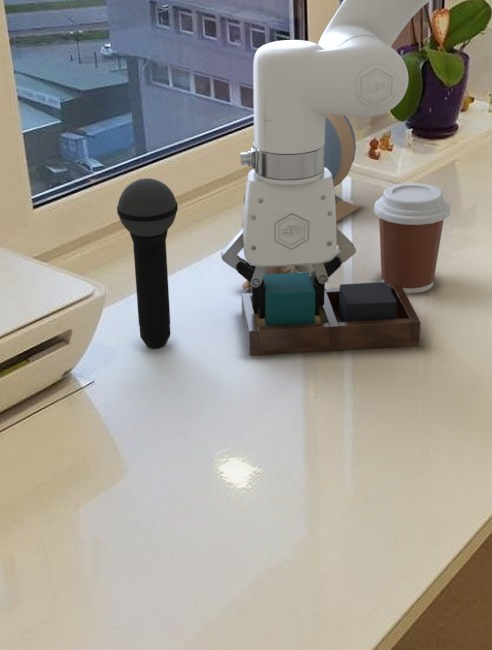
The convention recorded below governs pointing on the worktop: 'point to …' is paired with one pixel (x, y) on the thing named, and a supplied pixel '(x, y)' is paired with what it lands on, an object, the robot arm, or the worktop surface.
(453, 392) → the worktop surface
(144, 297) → the microphone
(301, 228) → the robot arm
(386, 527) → the worktop surface
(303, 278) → the teal block
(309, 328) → the brown wooden divided tray
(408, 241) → the coffee cup
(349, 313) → the charcoal block
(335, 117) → the alarm clock
